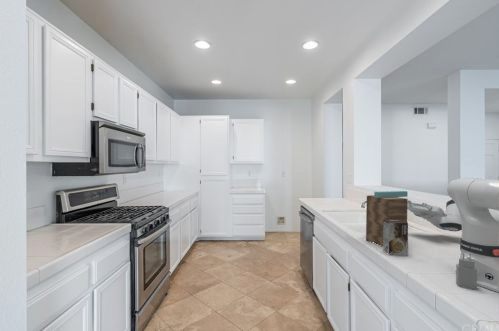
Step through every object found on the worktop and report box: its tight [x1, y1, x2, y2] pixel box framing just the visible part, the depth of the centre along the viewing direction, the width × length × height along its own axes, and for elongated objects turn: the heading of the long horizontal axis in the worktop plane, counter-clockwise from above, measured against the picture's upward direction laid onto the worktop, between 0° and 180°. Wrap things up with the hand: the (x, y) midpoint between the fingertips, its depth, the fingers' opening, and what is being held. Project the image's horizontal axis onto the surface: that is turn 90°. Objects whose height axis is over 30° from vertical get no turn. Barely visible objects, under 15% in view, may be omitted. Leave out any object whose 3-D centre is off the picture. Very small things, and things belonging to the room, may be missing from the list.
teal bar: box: [373, 190, 409, 198], centre depth 137 cm, size 3×21×3 cm, turn 108°
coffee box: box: [382, 220, 409, 257], centre depth 122 cm, size 9×6×16 cm
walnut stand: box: [365, 194, 408, 247], centre depth 136 cm, size 16×12×26 cm
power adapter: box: [455, 253, 478, 291], centre depth 89 cm, size 3×5×12 cm, turn 62°
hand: (415, 202), depth 144 cm, fingers open, 8 cm apart
